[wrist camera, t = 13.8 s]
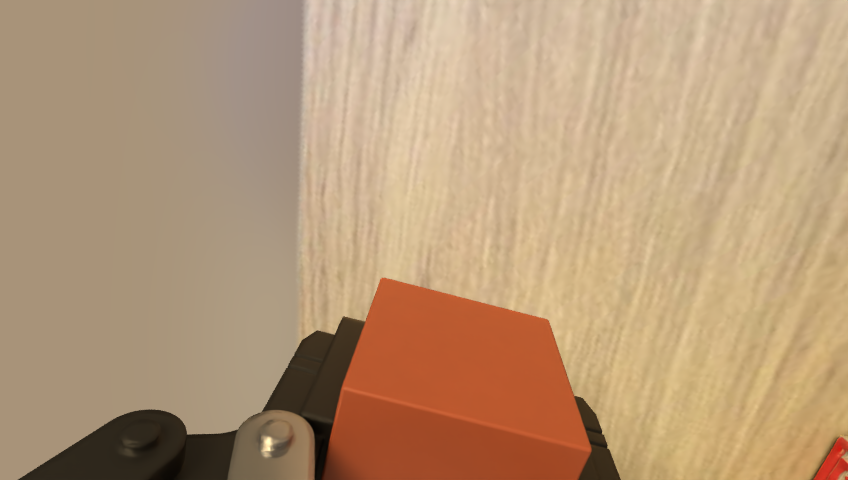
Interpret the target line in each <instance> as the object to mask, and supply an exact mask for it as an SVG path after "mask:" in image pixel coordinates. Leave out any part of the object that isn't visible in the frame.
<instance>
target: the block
mask: <svg viewBox="0 0 848 480" xmlns="http://www.w3.org/2000/svg"><path fill="white" fill-rule="evenodd" d="M591 451H592V448H591V445H590V442H589V439H588V436H587V433H586V430H585V427H584V424H583V421H582V418H581V415H580V412H579V409H578V406H577V403H576V401H575V398H574V395H573V392H572V389H571V386H570V383H569V380H568V377H567V374H566V371H565V368H564V365H563V362H562V359H561V356H560V353H559V350H558V347H557V344H556V341H555V338H554V335H553V332H552V329H551V326H550V323H549V321H548V320H547V319H543V318H539V317H535V316H532V315H528V314H524V313H520V312H516V311H512V310H508V309H504V308H500V307H496V306H493V305H489V304H485V303H481V302H477V301H473V300H469V299H465V298H461V297H457V296H454V295H450V294H446V293H442V292H438V291H434V290H430V289H426V288H422V287H418V286H415V285H411V284H407V283H403V282H399V281H395V280H391V279H387V278H382V279H381V280H380V283H379V285H378V288H377V291H376V294H375V296H374V299H373V302H372V305H371V307H370V310H369V313H368V316H367V318H366V321H365V324H364V327H363V329H362V332H361V335H360V338H359V340H358V343H357V346H356V349H355V351H354V354H353V357H352V360H351V362H350V365H349V368H348V371H347V373H346V376H345V379H344V382H343V384H342V387H341V391H340V396H339V400H338V405H337V409H336V413H335V418H334V422H333V427H332V431H331V436H330V440H329V444H328V449H327V453H326V458H325V462H324V467H323V471H322V475H321V480H578V479H579V476H580V474H581V472H582V470H583V468H584V466H585V464H586V462H587V460H588V458H589V456H590V454H591Z"/></svg>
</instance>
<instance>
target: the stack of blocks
mask: <svg viewBox="0 0 848 480" xmlns="http://www.w3.org/2000/svg"><path fill="white" fill-rule="evenodd" d="M813 480H848V436H843V435H841V436H840V437H839V438H838V439H837V441H836V443H835V445H834V446H833V448H832V449H831V451H830V453H829V455H828V456H827V458H826V460H825V461H824V463H823V465H822V466H821V468H820V469H819V471H818V473H817V474H816V476H815V478H814V479H813Z"/></svg>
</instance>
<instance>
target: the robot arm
mask: <svg viewBox="0 0 848 480" xmlns="http://www.w3.org/2000/svg"><path fill="white" fill-rule="evenodd" d="M364 324H365V322H364V321H360V320H356V319H352V318H348V317H344V316H343V318H342V320H341V322H340V324H339V326H338V329H337V331H336V333H335V335H333V334H329V333H325V332H321V331H316V332H314V333H312V334H311V335H309V336H308V337H306V338H305V339H303V340H302V341H301V343H300V345H299V347H298V349H297V350H296V352H295V354H294V356H293V358H292V359H291V361H290V363H289V365H288V368H286V370H285V372H284V374H283V375H282V377H281V379H280V381H279V383H278V384H277V386H276V388H275V390H274V391H273V393H272V395H271V397H270V399H269V400H268V402H267V404H266V406H265V407H264V409H263V411H262V412H261V413H258V414H256V415H253V416H251V417H250V418H248V419H247V420H246V421H245V422H243V424H242V425H241V426H240V427H239V429H238V430H235V431H232V432H227V433H221V434H192V435H187V431H186V427H185V425H184V423H183V422H182V421H181V420H180V419H179V418H178V417H177V416H175V415H173V414H171V413H169V412H165V411H161V410H139V411H134V412H130V413H127V414H124V415H122V416H119V417H117V418H115V419H113V420H112V421H110V422H108V423H107V424H105V425H104V426H102V427H100V428H99V429H97V430H96V431H94V432H93V433H91V434H89V435H88V436H86V437H85V438H83V439H81V440H80V441H79V442H77V443H75V444H74V445H72V446H70V447H69V448H67V449H66V450H64V451H63V452H61V453H59V454H58V455H56V456H55V457H53V458H51V459H50V460H48V461H47V462H45V463H44V464H42V465H40V466H39V467H37V468H36V469H34V470H33V471H31V472H30V473H28V474H26V475H25V476H23V477H22V478H20V479H19V480H321V475H322V471H323V467H324V462H325V458H326V453H327V449H328V444H329V440H330V436H331V431H332V427H333V422H334V418H335V413H336V409H337V405H338V400H339V396H340V391H341V387H342V384H343V382H344V379H345V376H346V373H347V371H348V368H349V365H350V362H351V360H352V357H353V354H354V351H355V349H356V346H357V343H358V340H359V338H360V335H361V332H362V329H363V327H364ZM574 398H575V401H576V403H577V406H578V409H579V412H580V415H581V418H582V421H583V424H584V427H585V430H586V433H587V436H588V439H589V442H590V445H591V448H592V451H591V454H590V456H589V458H588V460H587V462H586V464H585V466H584V468H583V470H582V472H581V474H580V476H579V479H578V480H621V479H620V477H619V474H618V471H617V469H616V466H615V464H614V461H613V458H612V456H611V453H610V450H609V449H607V446H608V445H607V443H606V440H605V437H604V435H602V429H601V427H600V424H599V421H598V419H597V416H596V414H595V413H594V412H593V410H592V409H591V408H590V407H589V406H588V404H587V403H586V402H585V401H584V399H583V398H581V397H577V396H574Z"/></svg>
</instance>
